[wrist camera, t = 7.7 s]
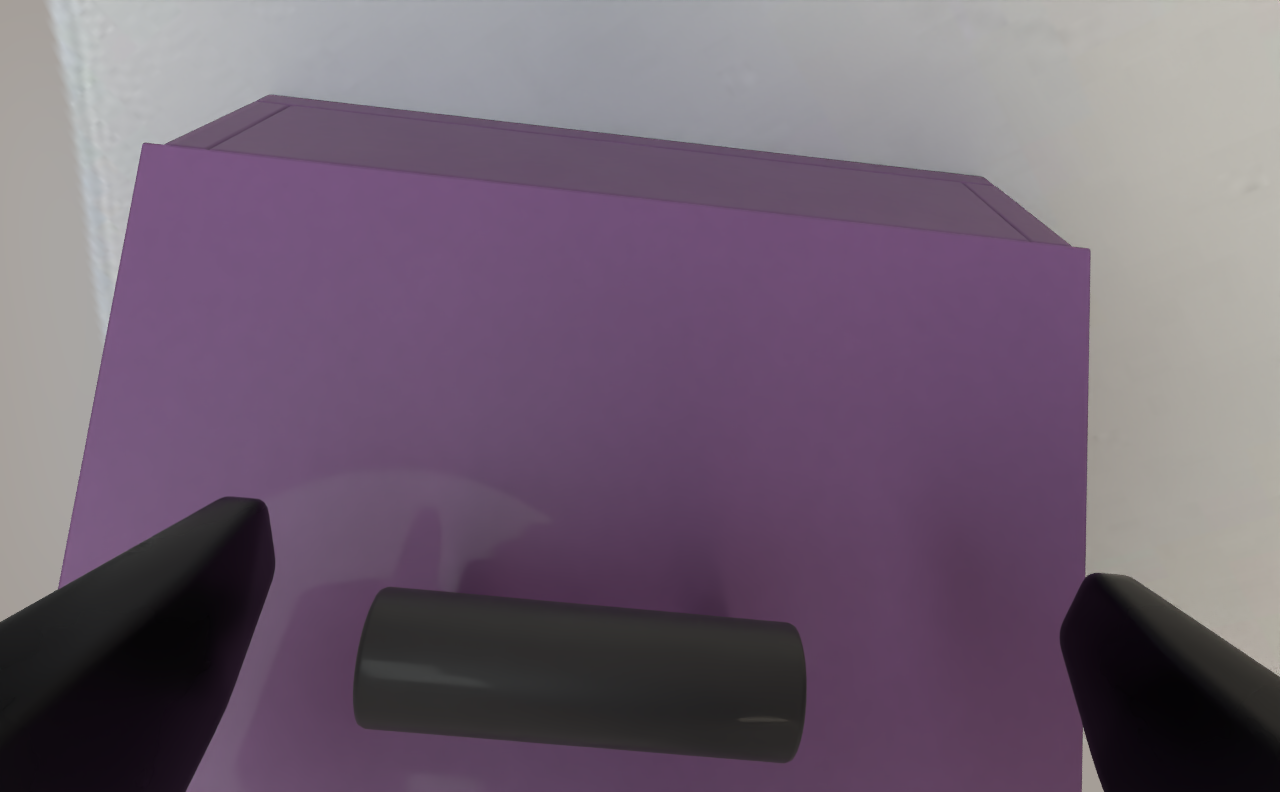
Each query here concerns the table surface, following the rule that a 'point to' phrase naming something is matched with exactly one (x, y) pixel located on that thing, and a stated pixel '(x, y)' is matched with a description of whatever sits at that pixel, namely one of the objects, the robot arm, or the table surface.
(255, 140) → the file box
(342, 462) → the lid
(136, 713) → the robot arm
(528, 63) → the table surface
